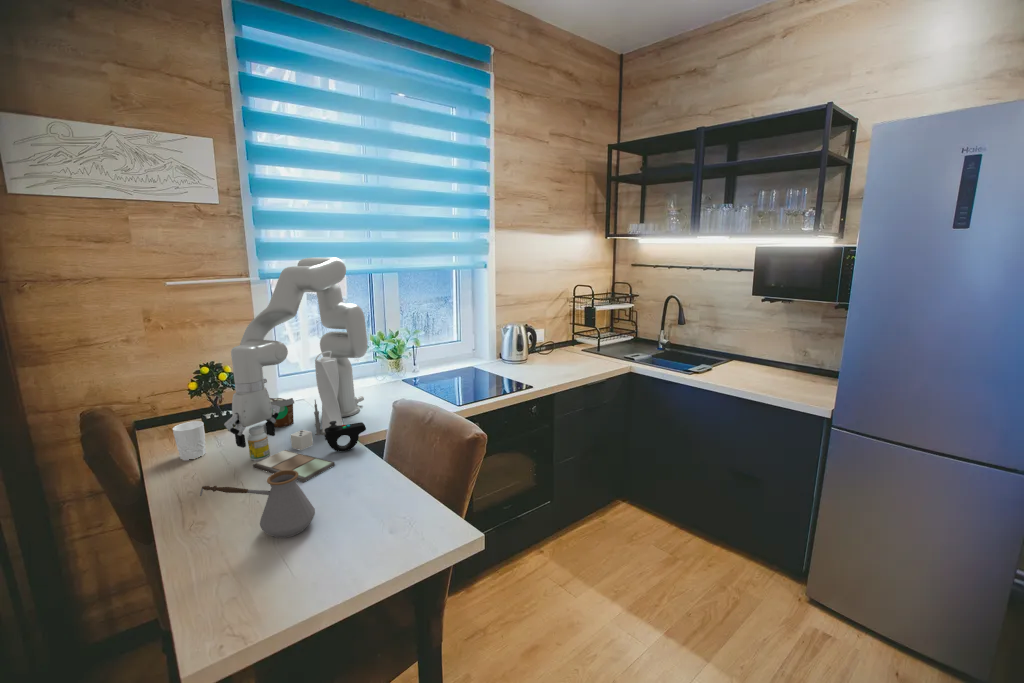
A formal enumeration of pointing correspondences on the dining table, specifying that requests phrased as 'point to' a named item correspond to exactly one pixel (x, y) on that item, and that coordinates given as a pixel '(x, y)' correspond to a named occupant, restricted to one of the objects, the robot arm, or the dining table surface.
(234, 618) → the dining table surface
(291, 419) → the food container
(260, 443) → the supplement bottle
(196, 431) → the white cup
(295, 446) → the die
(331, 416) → the skyscraper
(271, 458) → the game strip
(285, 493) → the coffee pot
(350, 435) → the controller
